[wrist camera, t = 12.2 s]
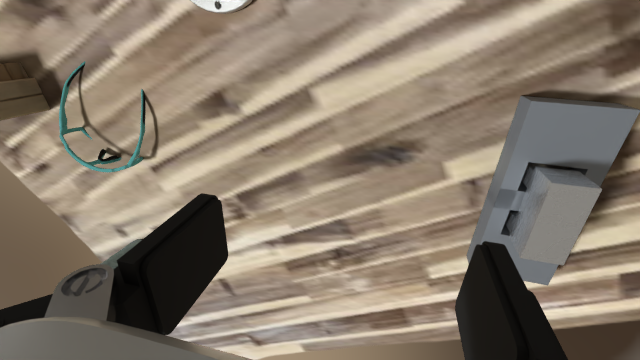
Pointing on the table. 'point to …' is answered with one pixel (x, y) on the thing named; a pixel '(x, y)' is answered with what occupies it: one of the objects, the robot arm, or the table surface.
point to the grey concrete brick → (551, 212)
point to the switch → (549, 161)
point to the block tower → (19, 92)
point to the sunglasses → (64, 130)
